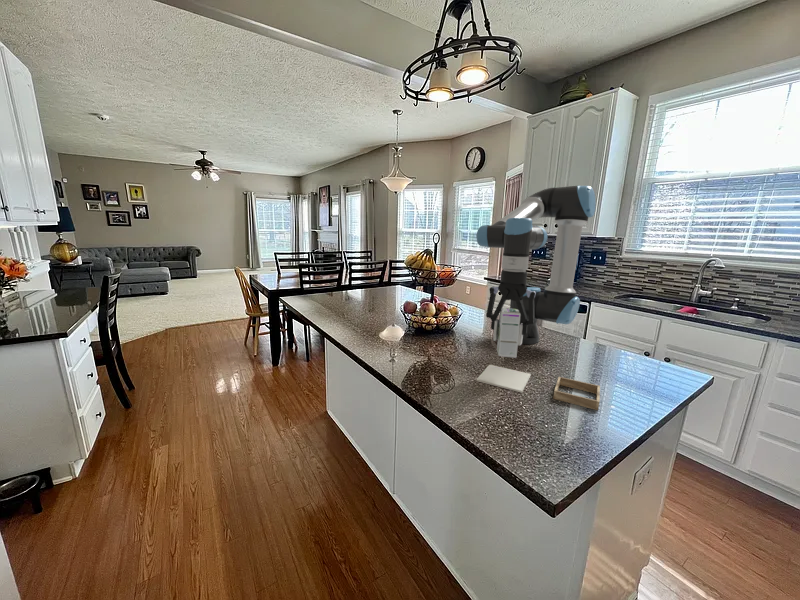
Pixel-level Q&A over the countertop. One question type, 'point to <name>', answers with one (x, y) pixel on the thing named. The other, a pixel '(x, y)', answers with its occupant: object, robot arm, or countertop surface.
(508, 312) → the syrup box
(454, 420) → the countertop surface
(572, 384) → the corral
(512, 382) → the board
